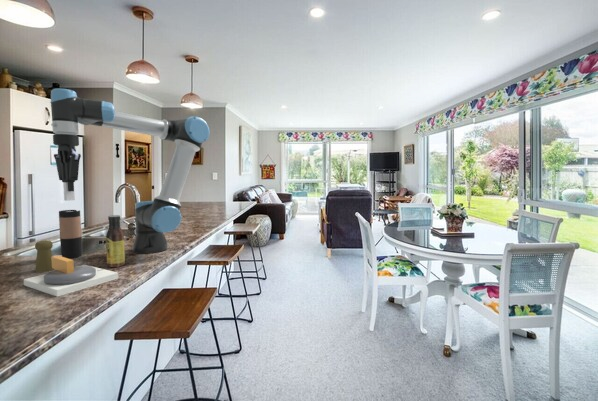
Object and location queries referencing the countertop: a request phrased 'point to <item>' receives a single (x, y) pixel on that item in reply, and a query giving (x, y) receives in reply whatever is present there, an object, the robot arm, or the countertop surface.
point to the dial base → (64, 289)
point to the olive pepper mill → (44, 256)
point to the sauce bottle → (115, 243)
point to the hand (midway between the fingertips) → (69, 200)
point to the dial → (67, 272)
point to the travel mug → (70, 233)
